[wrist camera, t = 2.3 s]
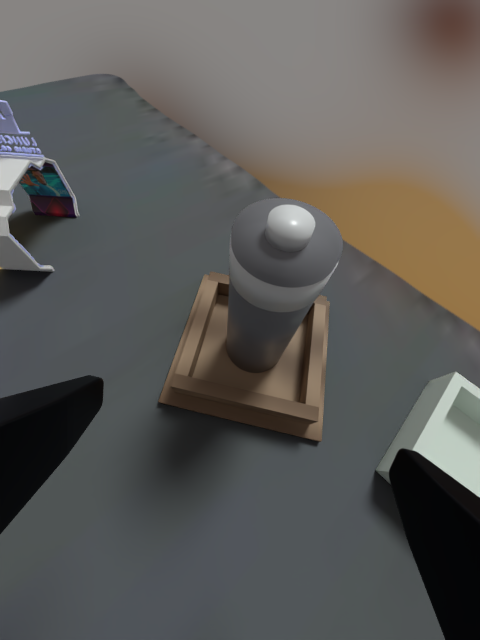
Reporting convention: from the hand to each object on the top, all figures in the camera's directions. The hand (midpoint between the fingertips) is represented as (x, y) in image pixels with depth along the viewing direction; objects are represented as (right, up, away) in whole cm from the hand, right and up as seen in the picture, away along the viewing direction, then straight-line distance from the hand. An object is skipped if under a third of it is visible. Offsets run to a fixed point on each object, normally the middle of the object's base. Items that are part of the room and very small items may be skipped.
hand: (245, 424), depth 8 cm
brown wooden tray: (+1, +1, +16) cm, 16 cm away
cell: (+1, +1, +15) cm, 15 cm away
